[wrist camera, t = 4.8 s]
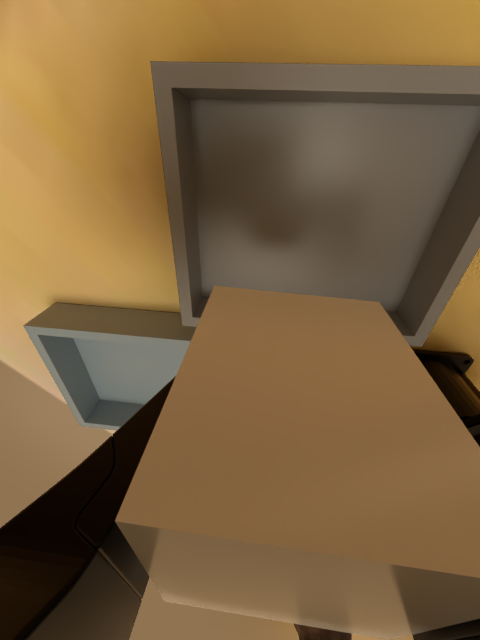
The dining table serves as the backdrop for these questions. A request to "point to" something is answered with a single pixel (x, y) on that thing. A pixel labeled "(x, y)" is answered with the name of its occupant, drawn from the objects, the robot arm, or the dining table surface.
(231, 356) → the stone block
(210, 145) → the bin
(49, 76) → the dining table surface
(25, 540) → the robot arm
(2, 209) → the dining table surface
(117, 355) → the bin
